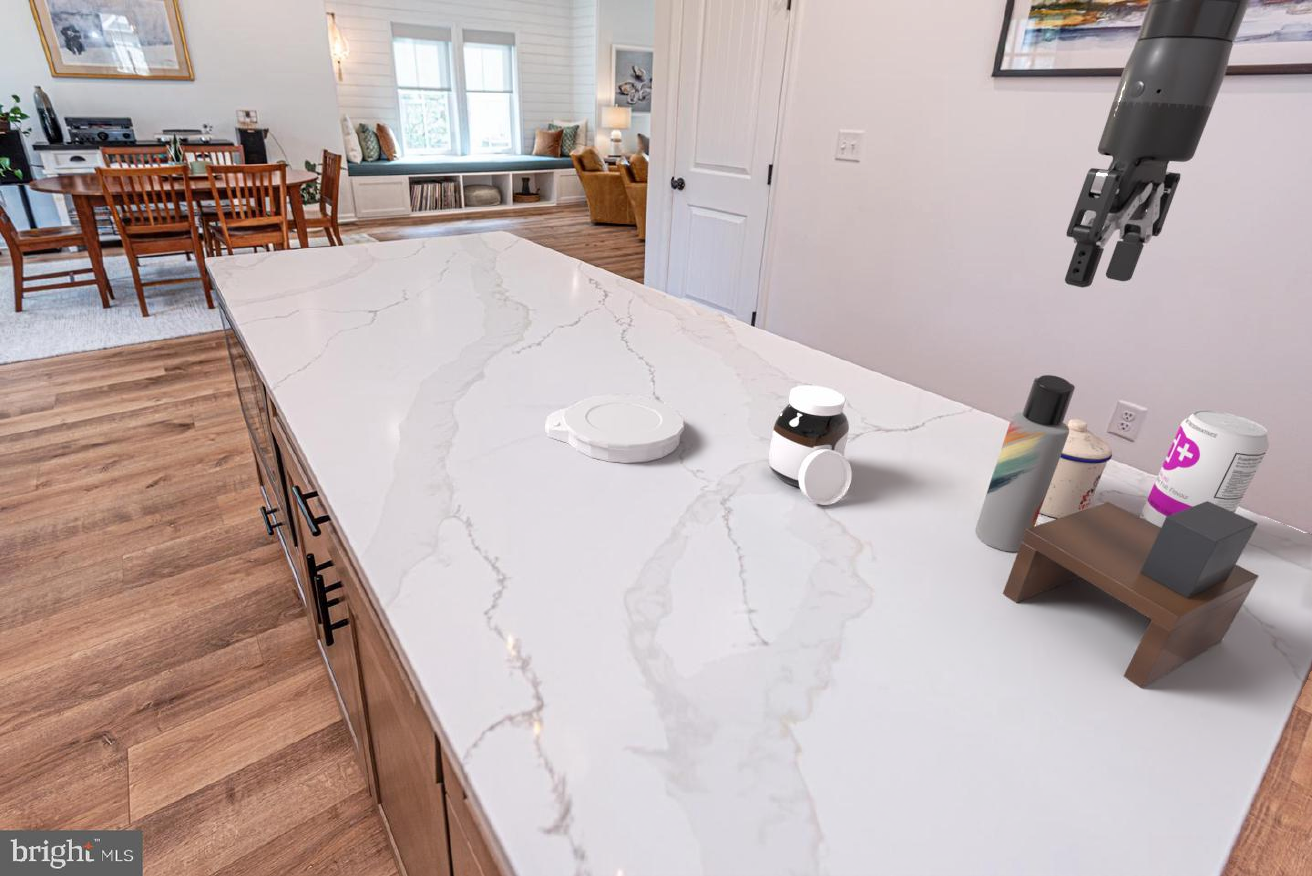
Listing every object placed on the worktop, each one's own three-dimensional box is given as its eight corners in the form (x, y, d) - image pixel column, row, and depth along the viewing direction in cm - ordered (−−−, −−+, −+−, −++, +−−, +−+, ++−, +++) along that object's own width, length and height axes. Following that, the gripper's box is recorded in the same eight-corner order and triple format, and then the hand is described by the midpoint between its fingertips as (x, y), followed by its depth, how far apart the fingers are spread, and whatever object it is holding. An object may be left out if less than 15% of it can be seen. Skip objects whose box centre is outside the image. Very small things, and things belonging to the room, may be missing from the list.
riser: (1082, 561, 77) (1108, 501, 73) (1221, 642, 66) (1259, 575, 62) (1002, 593, 70) (1026, 529, 67) (1141, 688, 59) (1178, 617, 56)
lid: (566, 402, 107) (566, 385, 105) (691, 421, 104) (693, 403, 102) (525, 450, 91) (525, 430, 90) (670, 473, 88) (672, 453, 87)
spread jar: (800, 454, 96) (814, 377, 91) (871, 486, 89) (891, 405, 84) (747, 480, 88) (759, 397, 83) (821, 517, 81) (839, 429, 76)
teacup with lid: (1092, 529, 83) (1128, 444, 78) (1011, 509, 86) (1040, 426, 81) (1080, 486, 93) (1110, 409, 88) (1008, 470, 96) (1034, 394, 91)
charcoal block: (1180, 554, 64) (1207, 500, 62) (1228, 578, 61) (1258, 523, 59) (1139, 572, 61) (1166, 516, 59) (1187, 599, 58) (1217, 541, 56)
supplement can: (1146, 540, 82) (1198, 427, 75) (1131, 508, 89) (1178, 402, 82) (1226, 558, 79) (1287, 444, 73) (1204, 524, 86) (1258, 416, 80)
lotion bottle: (1023, 532, 81) (1080, 376, 73) (1030, 557, 76) (1092, 394, 68) (972, 520, 83) (1022, 366, 74) (976, 545, 78) (1030, 383, 69)
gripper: (1177, 96, 54) (1103, 298, 61) (1241, 108, 61) (1169, 286, 68) (1080, 93, 59) (1023, 279, 66) (1150, 104, 67) (1092, 269, 74)
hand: (1097, 282), depth 67 cm, fingers open, 8 cm apart
